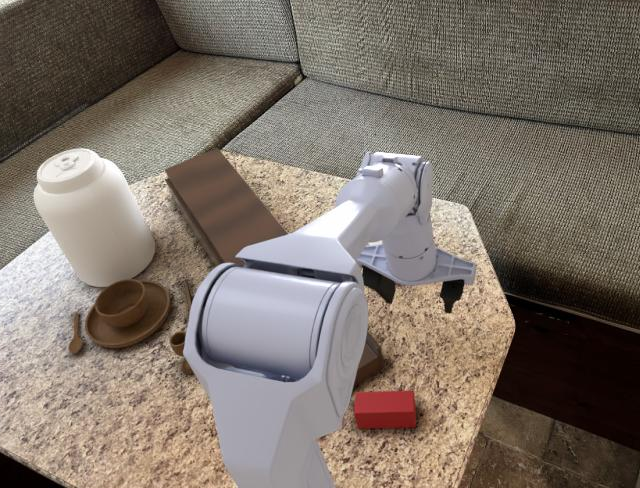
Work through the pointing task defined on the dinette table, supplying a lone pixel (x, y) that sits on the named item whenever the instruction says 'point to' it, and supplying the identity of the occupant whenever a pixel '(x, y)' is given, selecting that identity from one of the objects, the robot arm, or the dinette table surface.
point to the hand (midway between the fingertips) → (420, 301)
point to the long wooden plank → (235, 222)
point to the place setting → (130, 316)
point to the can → (93, 217)
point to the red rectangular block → (385, 409)
